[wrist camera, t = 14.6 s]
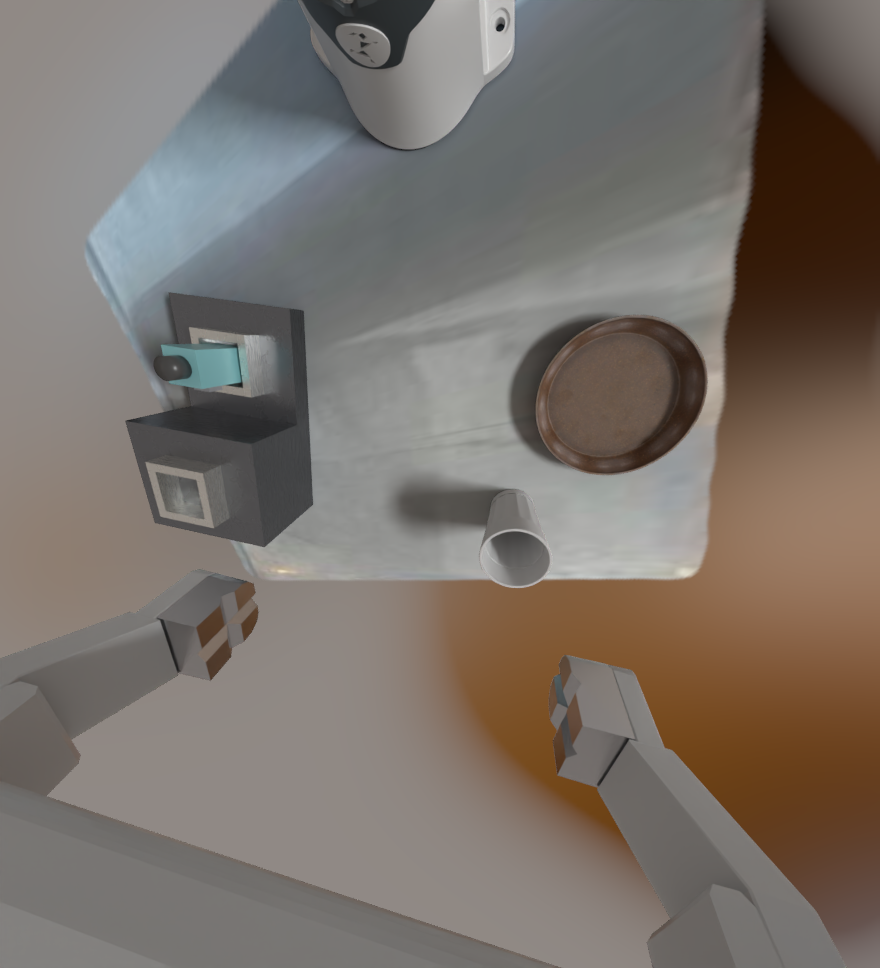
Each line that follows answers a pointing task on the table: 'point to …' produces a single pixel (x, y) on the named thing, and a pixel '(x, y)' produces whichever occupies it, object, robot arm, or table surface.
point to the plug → (199, 365)
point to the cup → (514, 542)
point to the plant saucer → (621, 394)
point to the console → (233, 429)
